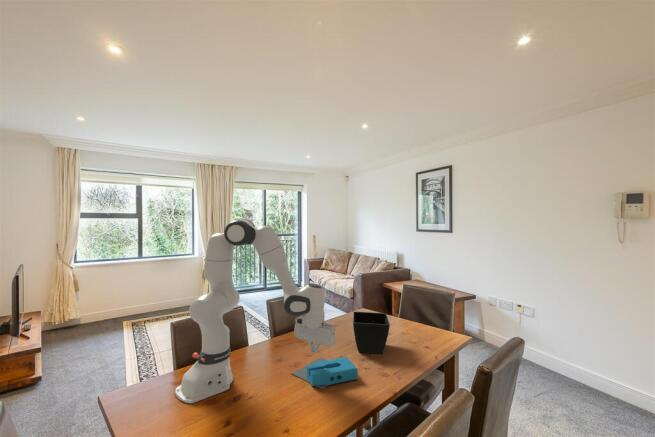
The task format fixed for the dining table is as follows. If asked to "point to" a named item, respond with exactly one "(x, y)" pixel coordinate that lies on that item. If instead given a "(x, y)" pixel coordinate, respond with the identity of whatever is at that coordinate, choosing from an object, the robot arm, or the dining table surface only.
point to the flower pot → (370, 331)
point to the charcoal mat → (303, 372)
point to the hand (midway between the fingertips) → (314, 351)
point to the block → (331, 372)
